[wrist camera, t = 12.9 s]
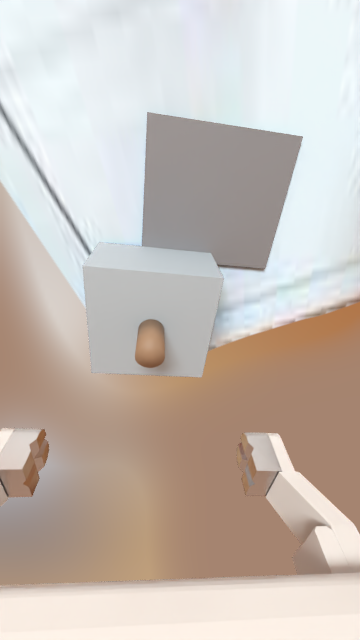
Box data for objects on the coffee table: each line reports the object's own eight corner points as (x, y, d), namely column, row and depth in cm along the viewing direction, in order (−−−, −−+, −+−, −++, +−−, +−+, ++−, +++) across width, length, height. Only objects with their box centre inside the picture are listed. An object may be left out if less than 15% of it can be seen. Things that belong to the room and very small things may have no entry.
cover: (210, 253, 36) (234, 299, 25) (194, 340, 44) (207, 406, 33) (99, 242, 34) (68, 286, 23) (103, 334, 42) (82, 402, 31)
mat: (300, 137, 31) (302, 136, 30) (263, 267, 39) (265, 268, 38) (147, 113, 29) (147, 112, 28) (141, 256, 36) (141, 257, 36)
